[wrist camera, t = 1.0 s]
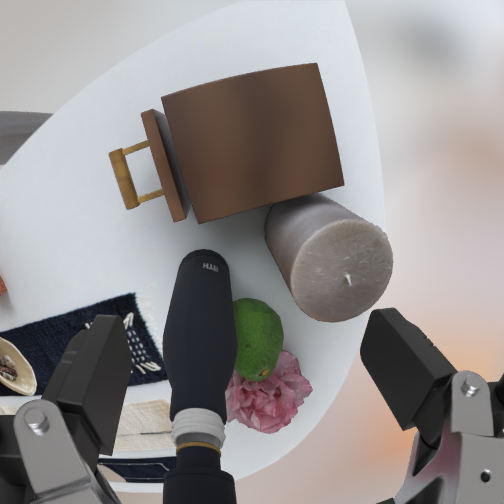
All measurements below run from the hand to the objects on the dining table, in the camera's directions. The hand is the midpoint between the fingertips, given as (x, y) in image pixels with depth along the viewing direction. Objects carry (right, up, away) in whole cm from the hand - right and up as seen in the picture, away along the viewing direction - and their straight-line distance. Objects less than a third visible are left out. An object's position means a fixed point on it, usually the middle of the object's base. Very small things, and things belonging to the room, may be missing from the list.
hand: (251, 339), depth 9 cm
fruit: (-1, -5, +31) cm, 31 cm away
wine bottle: (-6, 0, +28) cm, 29 cm away
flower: (+1, -17, +36) cm, 40 cm away
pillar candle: (+6, +6, +28) cm, 29 cm away
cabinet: (-1, +15, +23) cm, 27 cm away
